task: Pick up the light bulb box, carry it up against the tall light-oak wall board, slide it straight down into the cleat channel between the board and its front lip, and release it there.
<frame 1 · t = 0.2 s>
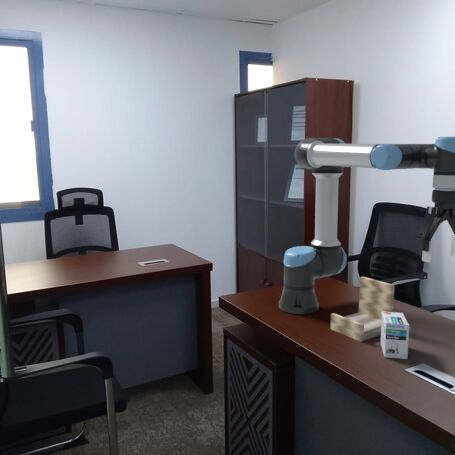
hand: (441, 258, 140), 27 cm above the table, fingers open, 13 cm apart
light bulb box: (393, 351, 140), on the table
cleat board: (360, 330, 156), on the table
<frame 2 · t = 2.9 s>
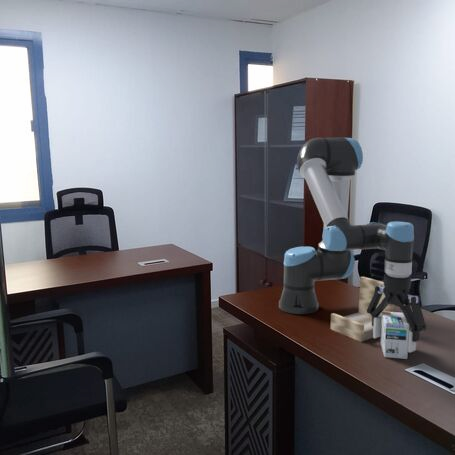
hand: (393, 343, 139), 2 cm above the table, fingers closed on light bulb box, 12 cm apart
light bulb box: (393, 351, 140), on the table, touching gripper
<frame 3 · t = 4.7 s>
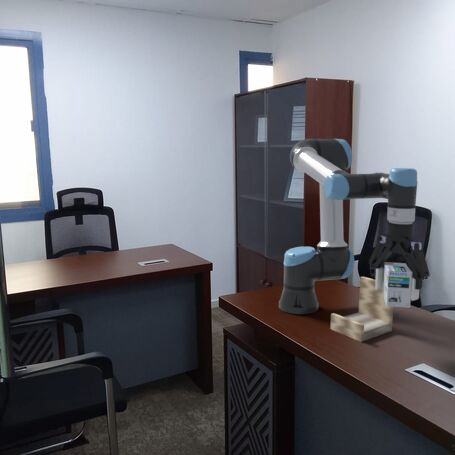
hand: (396, 294, 137), 18 cm above the table, fingers closed on light bulb box, 12 cm apart
light bulb box: (395, 302, 137), point 15 cm above the table, touching gripper
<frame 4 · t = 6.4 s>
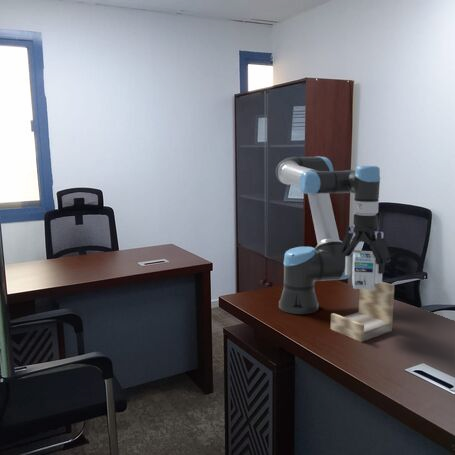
hand: (362, 278, 153), 18 cm above the table, fingers closed on light bulb box, 12 cm apart
light bulb box: (362, 285, 153), point 16 cm above the table, touching gripper
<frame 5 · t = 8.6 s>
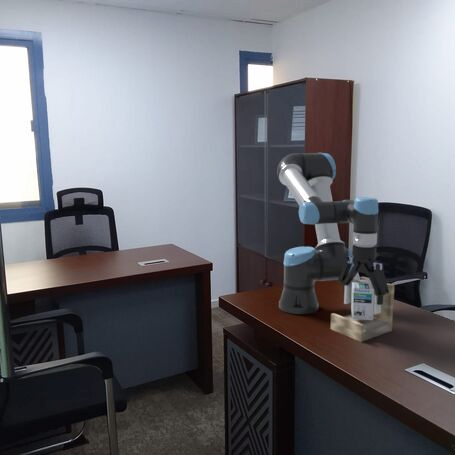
hand: (361, 308, 154), 8 cm above the table, fingers closed on light bulb box, 12 cm apart
light bulb box: (361, 315, 155), point 5 cm above the table, touching gripper
when the fingers open (6 cm above the table, at t = 10.2 s): light bulb box stays where it is, resting on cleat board.
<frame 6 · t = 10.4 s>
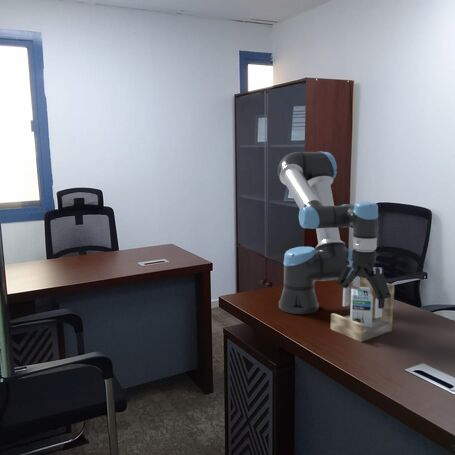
hand: (361, 311, 155), 7 cm above the table, fingers open, 13 cm apart
light bulb box: (360, 322, 155), point 3 cm above the table, touching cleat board
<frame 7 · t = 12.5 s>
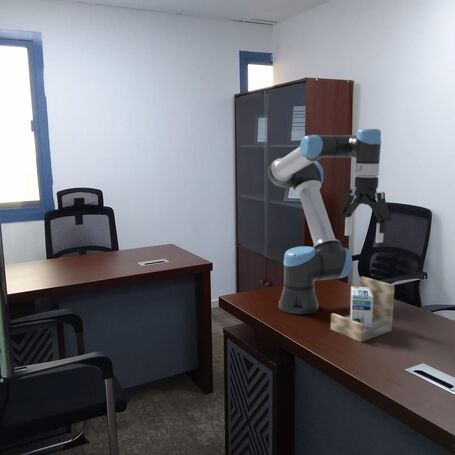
hand: (363, 238, 157), 30 cm above the table, fingers open, 13 cm apart
nothing on the table moved.
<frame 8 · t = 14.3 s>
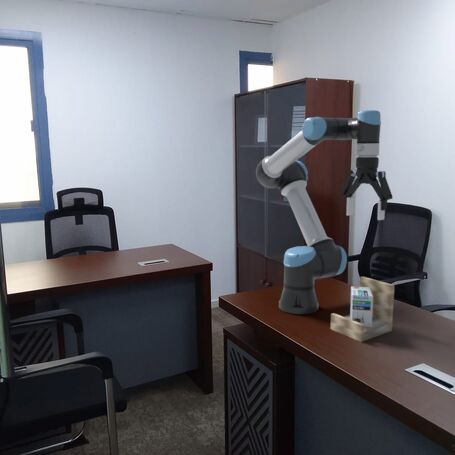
hand: (364, 217, 162), 37 cm above the table, fingers open, 13 cm apart
nothing on the table moved.
at the end: light bulb box inside the target area on the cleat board (0.3 cm from its centre), point 2.8 cm above the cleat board's base; light bulb box tilted 0°; the gripper is holding nothing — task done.
